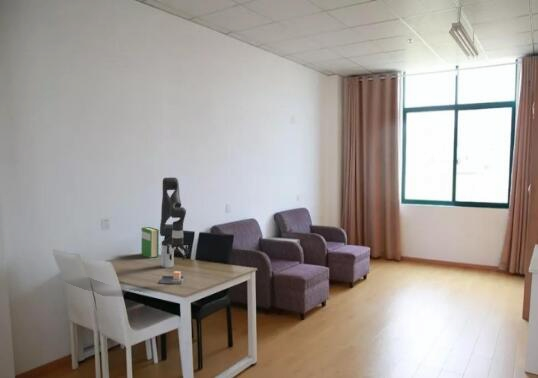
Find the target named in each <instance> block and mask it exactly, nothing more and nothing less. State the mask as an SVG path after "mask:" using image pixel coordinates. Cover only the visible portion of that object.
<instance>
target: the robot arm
mask: <svg viewBox="0 0 538 378" xmlns="http://www.w3.org/2000/svg"><path fill="white" fill-rule="evenodd" d="M168 191H173V193H172V194H171V195H169V193H168ZM160 212H161V214H160V216H161V218H160V226H159V235H160V236H161V237H167V238H166V239H163V240H162V241H161V268H165V269H166V268H172V267H174V265H175V264H174V260H175V259H174V258H175V256H174V254H175V252H176V253H177V252H178V253H179V252H180V253H181V254H182V261H185V260H186V255H188V254H189V245H188V244H186V245H184V221H185V218H186V214H187V210H186V208H185V207H184V206H183V207H182V201H181V197H180V183H179V180H178V178H177V177H164V178H163V179H162V199H161V211H160ZM170 218H173V219H178V220H175V221H172V223H171V224H166V223H167V221H168V220H169V219H170ZM184 249H185V250H184Z"/></svg>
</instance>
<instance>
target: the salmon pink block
mask: <svg viewBox="0 0 538 378" xmlns="http://www.w3.org/2000/svg"><path fill="white" fill-rule="evenodd" d="M181 272H182V271H177V270H174V271H173V275H172V276H173V280H181V276H182V275H181V274H182V273H181Z"/></svg>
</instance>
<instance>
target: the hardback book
mask: <svg viewBox="0 0 538 378" xmlns="http://www.w3.org/2000/svg"><path fill="white" fill-rule="evenodd" d="M159 235H160V229H158V228H154V227H151V226H147V227H146V226H144V227H141V256H144V257H146V258H148V257H149V259H152V258H159V251H160V250H159V249H160V248H159V238H160V237H159Z"/></svg>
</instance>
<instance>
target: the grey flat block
mask: <svg viewBox="0 0 538 378" xmlns="http://www.w3.org/2000/svg"><path fill="white" fill-rule="evenodd" d="M158 282H159V283H158V284H166V285H167V284H168V285H169V284H171V285H172V284H174V285H182V284H183V282H185V276H184V275H181V280H173V275H162V277H161V278H160V279H159V281H158Z"/></svg>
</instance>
